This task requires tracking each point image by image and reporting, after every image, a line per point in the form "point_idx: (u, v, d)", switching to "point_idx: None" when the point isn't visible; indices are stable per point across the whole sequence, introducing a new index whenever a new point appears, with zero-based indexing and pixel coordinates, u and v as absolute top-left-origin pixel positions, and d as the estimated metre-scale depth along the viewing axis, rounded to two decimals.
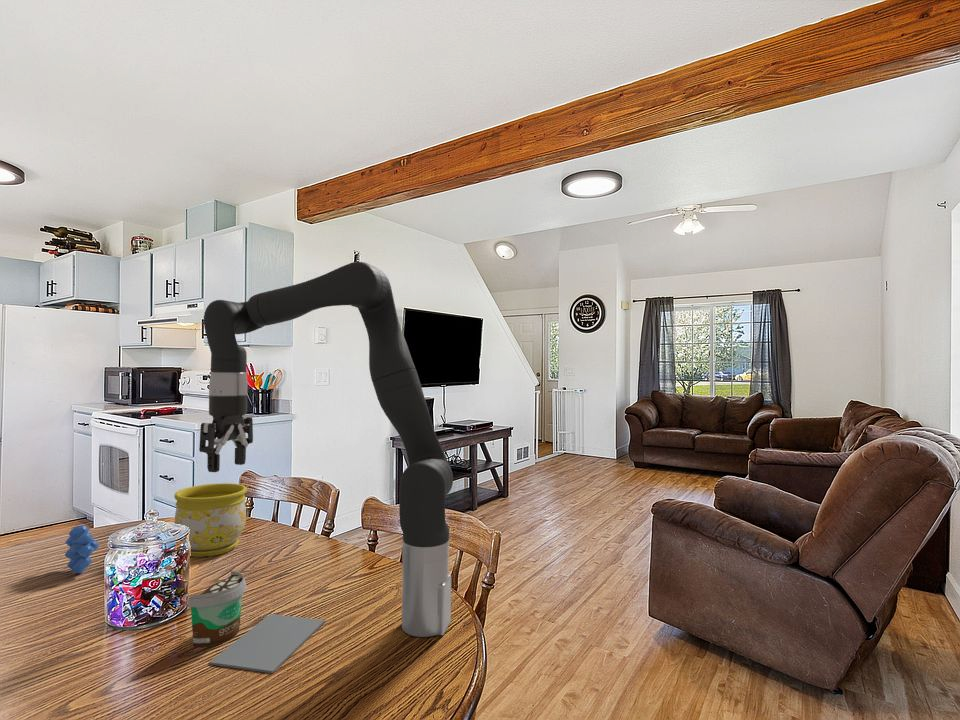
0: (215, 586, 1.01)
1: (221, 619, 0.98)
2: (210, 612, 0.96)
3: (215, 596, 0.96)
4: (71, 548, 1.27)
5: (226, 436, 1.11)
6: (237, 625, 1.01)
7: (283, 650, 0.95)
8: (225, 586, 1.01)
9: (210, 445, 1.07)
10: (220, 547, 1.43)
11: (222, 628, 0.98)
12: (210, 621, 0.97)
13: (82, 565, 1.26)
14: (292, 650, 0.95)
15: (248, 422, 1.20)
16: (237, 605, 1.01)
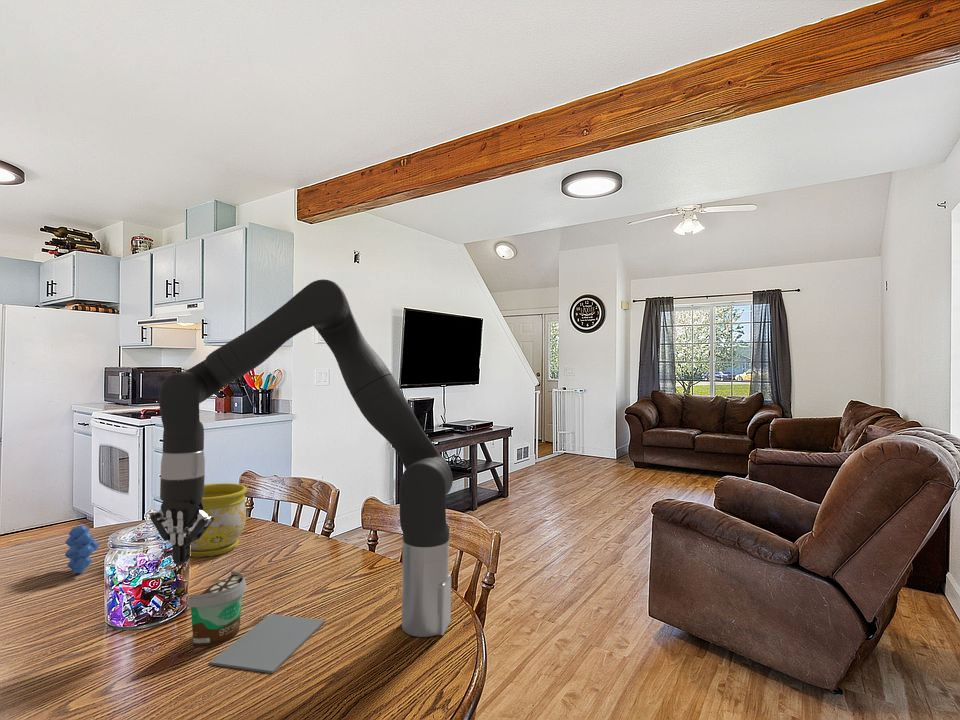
0: (215, 586, 1.01)
1: (221, 619, 0.98)
2: (210, 612, 0.96)
3: (215, 596, 0.96)
4: (71, 548, 1.27)
5: None
6: (237, 625, 1.01)
7: (283, 650, 0.95)
8: (225, 586, 1.01)
9: None
10: (220, 547, 1.43)
11: (222, 628, 0.98)
12: (210, 621, 0.97)
13: (82, 565, 1.26)
14: (292, 650, 0.95)
15: None
16: (237, 605, 1.01)
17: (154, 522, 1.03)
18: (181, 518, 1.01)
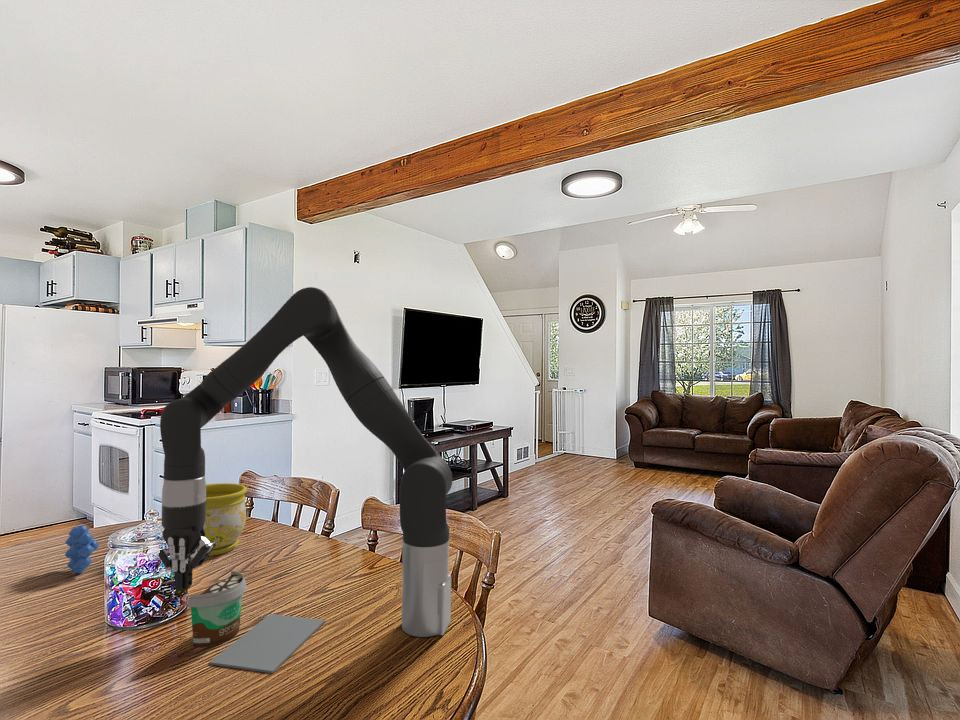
0: (215, 586, 1.01)
1: (221, 619, 0.98)
2: (210, 612, 0.96)
3: (215, 596, 0.96)
4: (71, 548, 1.27)
5: None
6: (237, 625, 1.01)
7: (283, 650, 0.95)
8: (225, 586, 1.01)
9: None
10: (220, 547, 1.43)
11: (222, 628, 0.98)
12: (210, 621, 0.97)
13: (82, 565, 1.26)
14: (292, 650, 0.95)
15: None
16: (237, 605, 1.01)
17: None
18: (183, 546, 1.00)
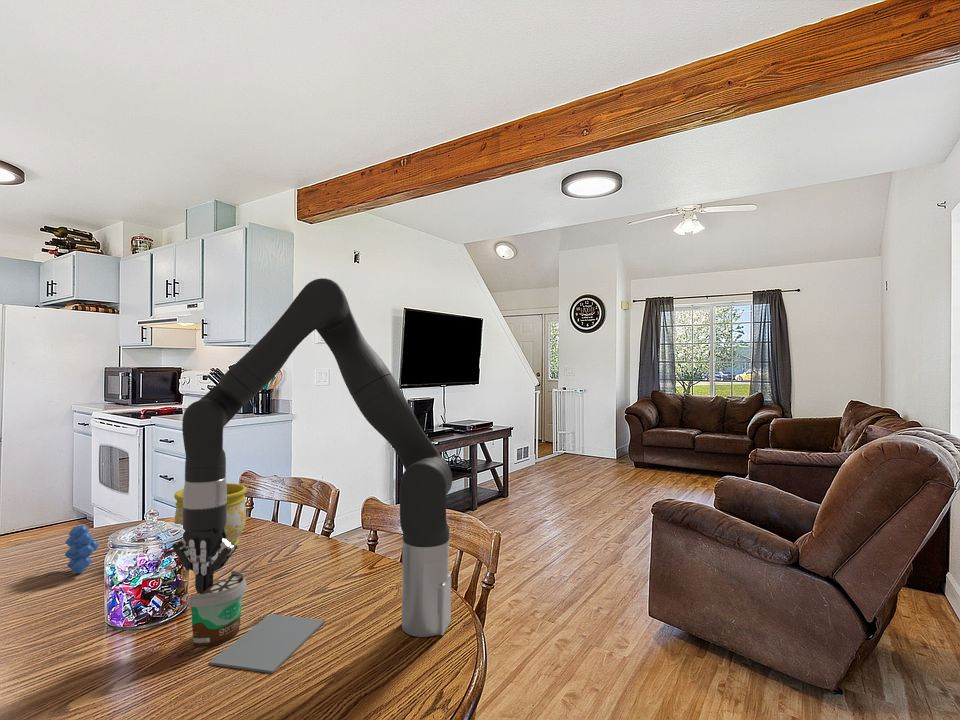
0: (216, 586, 1.01)
1: (221, 619, 0.98)
2: (211, 612, 0.96)
3: (215, 596, 0.96)
4: (71, 548, 1.27)
5: None
6: (237, 625, 1.01)
7: (283, 650, 0.95)
8: (225, 586, 1.01)
9: None
10: (220, 547, 1.43)
11: (222, 628, 0.98)
12: (210, 621, 0.97)
13: (82, 565, 1.26)
14: (292, 650, 0.95)
15: None
16: (238, 605, 1.01)
17: (176, 551, 1.01)
18: (204, 548, 0.99)
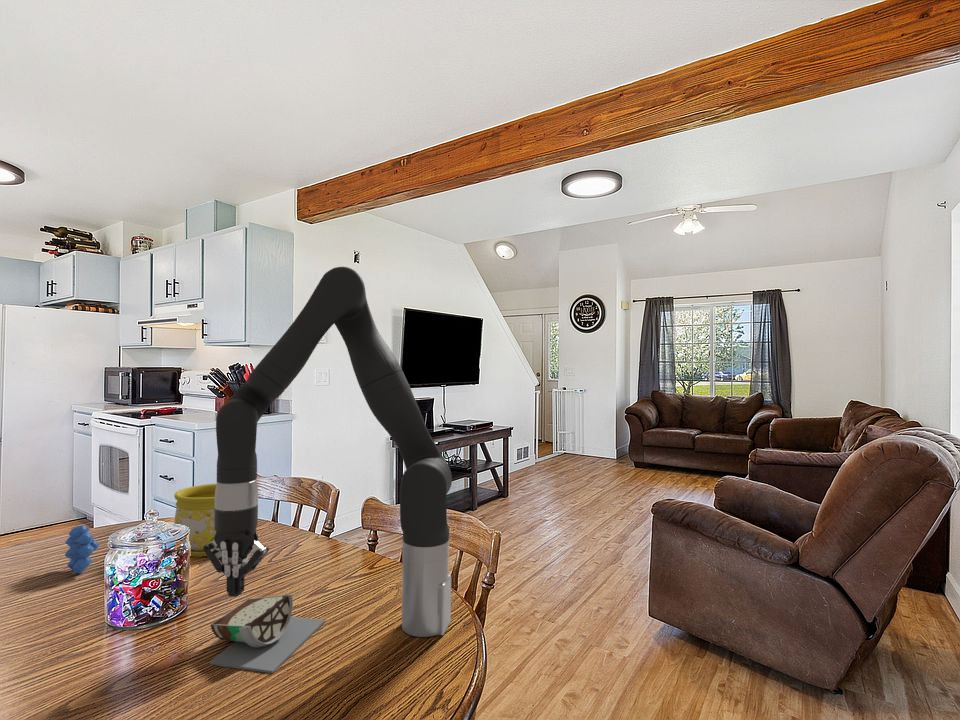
0: (269, 617, 0.97)
1: None
2: (243, 640, 0.94)
3: (258, 643, 0.93)
4: (71, 548, 1.27)
5: None
6: None
7: (283, 650, 0.95)
8: (273, 621, 0.98)
9: None
10: None
11: None
12: (236, 639, 0.95)
13: (82, 565, 1.26)
14: (292, 650, 0.95)
15: None
16: None
17: (207, 553, 1.00)
18: (236, 550, 0.98)
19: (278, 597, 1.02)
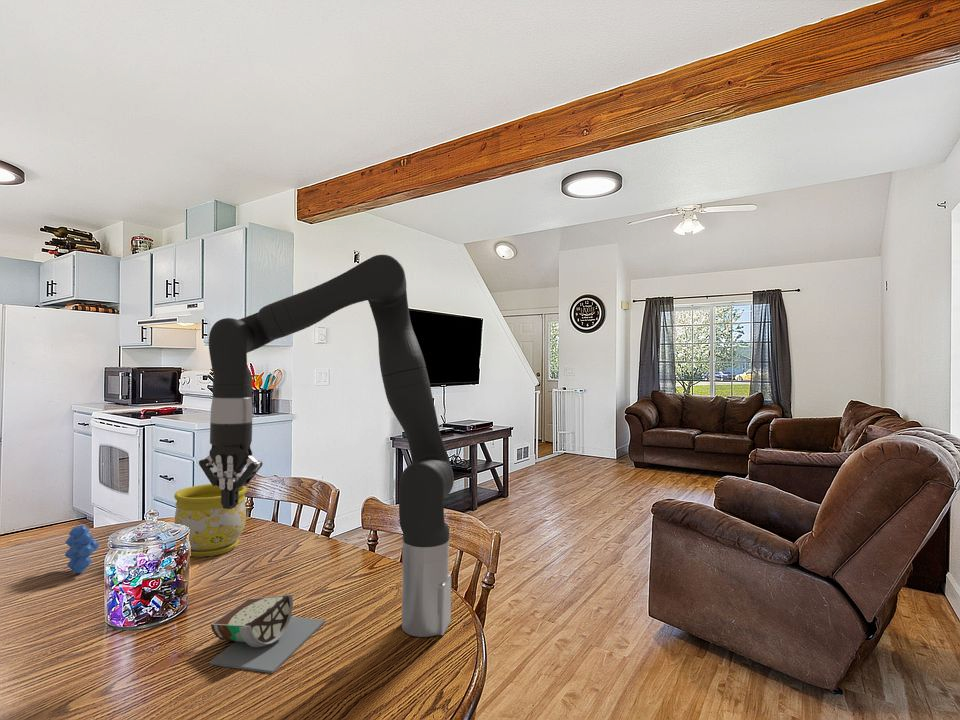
0: (269, 617, 0.97)
1: None
2: (243, 639, 0.94)
3: (258, 643, 0.93)
4: (71, 548, 1.27)
5: None
6: None
7: (283, 650, 0.95)
8: (273, 621, 0.98)
9: None
10: (220, 547, 1.43)
11: None
12: (236, 639, 0.95)
13: (82, 565, 1.26)
14: (292, 650, 0.95)
15: None
16: None
17: (203, 468, 1.04)
18: (231, 463, 1.02)
19: (278, 597, 1.03)
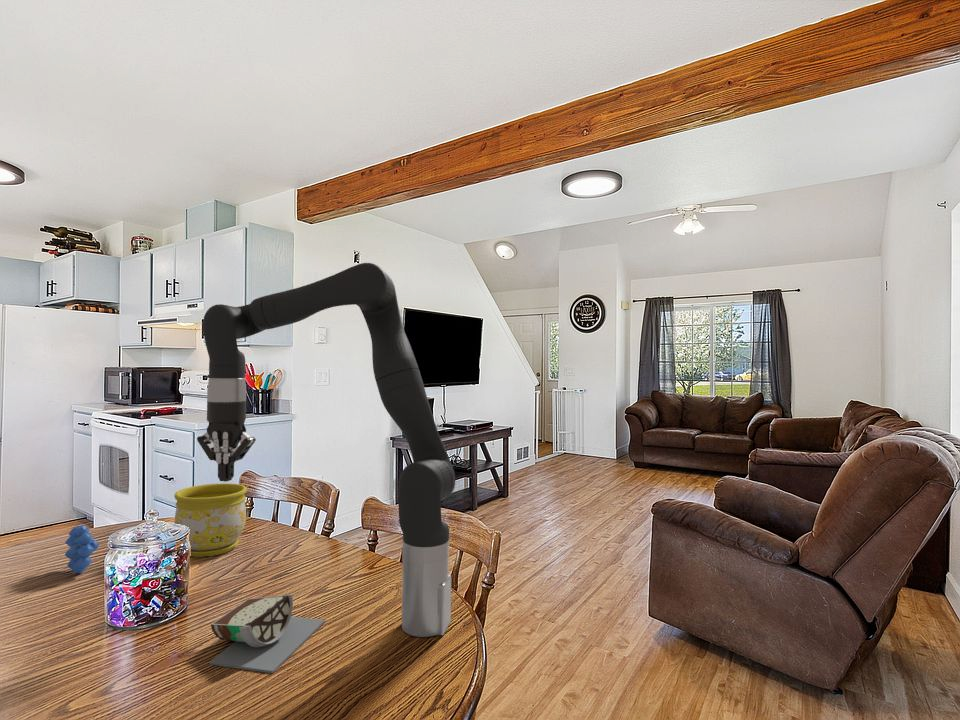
0: (269, 617, 0.97)
1: None
2: (243, 640, 0.94)
3: (258, 643, 0.93)
4: (71, 548, 1.27)
5: None
6: None
7: (283, 650, 0.95)
8: (273, 621, 0.98)
9: None
10: (220, 547, 1.43)
11: None
12: (236, 639, 0.95)
13: (82, 565, 1.26)
14: (292, 650, 0.95)
15: None
16: None
17: (201, 443, 1.12)
18: (226, 438, 1.10)
19: (278, 597, 1.03)
